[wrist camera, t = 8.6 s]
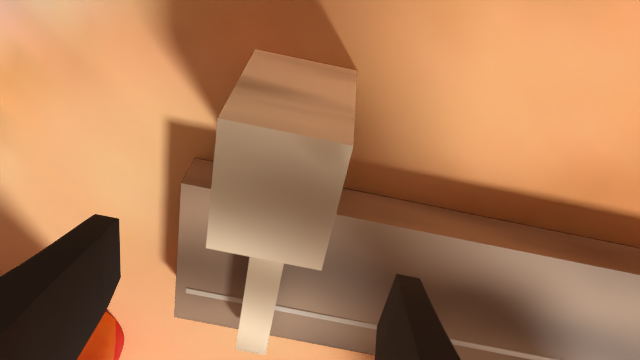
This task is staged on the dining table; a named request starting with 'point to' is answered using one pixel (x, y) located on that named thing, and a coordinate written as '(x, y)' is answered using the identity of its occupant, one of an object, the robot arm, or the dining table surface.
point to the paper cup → (104, 341)
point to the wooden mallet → (279, 175)
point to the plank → (427, 280)
